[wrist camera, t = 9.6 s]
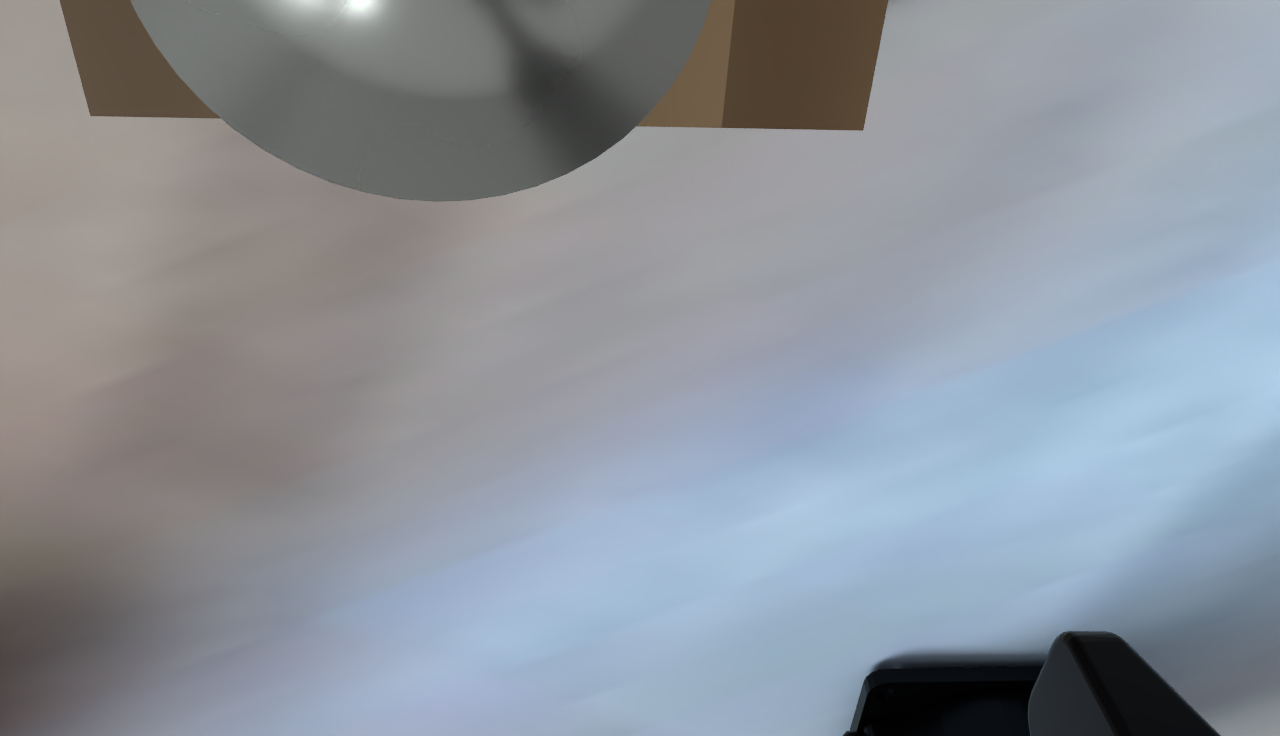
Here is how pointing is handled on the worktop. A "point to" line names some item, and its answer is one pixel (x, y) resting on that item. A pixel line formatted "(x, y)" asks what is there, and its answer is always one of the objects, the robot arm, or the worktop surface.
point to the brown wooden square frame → (699, 97)
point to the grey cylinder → (429, 83)
